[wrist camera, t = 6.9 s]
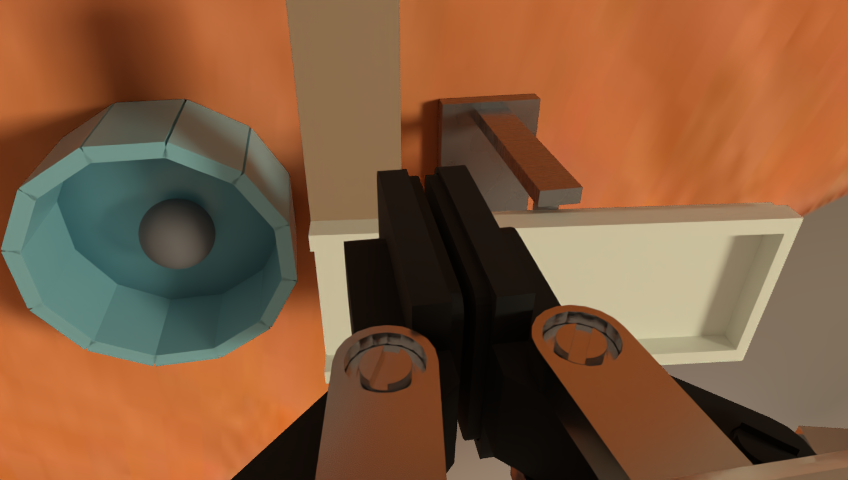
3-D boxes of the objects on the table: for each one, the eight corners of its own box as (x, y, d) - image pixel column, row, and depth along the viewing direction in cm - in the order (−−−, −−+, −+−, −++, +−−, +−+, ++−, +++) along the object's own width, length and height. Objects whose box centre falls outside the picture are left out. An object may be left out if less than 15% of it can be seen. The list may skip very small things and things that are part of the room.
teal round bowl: (279, 94, 32) (277, 134, 27) (304, 287, 39) (306, 347, 34) (11, 107, 30) (-45, 155, 25) (91, 310, 37) (60, 378, 32)
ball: (193, 222, 29) (115, 220, 29) (208, 284, 32) (136, 282, 32) (218, 186, 33) (148, 185, 33) (230, 244, 35) (165, 243, 35)
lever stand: (534, 93, 35) (626, 175, 25) (515, 255, 41) (582, 369, 32) (439, 99, 34) (497, 186, 24) (435, 264, 40) (479, 384, 31)
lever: (836, -27, 23) (902, -13, 20) (710, 318, 33) (742, 360, 30) (290, -27, 22) (279, -12, 19) (329, 337, 32) (325, 383, 29)
